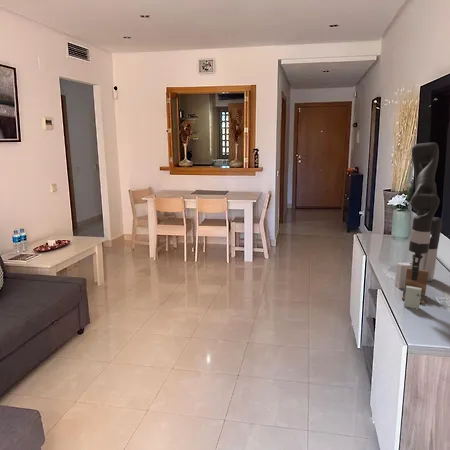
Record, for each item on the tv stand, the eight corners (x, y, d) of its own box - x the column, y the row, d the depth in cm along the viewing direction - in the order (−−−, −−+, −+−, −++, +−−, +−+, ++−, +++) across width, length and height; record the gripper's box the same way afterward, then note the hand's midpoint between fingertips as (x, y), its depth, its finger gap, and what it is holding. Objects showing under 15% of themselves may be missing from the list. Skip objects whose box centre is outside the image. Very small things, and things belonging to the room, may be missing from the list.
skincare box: (405, 285, 205) (408, 262, 202) (410, 288, 200) (413, 265, 198) (394, 285, 204) (396, 262, 201) (398, 288, 200) (401, 265, 197)
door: (404, 304, 181) (406, 285, 179) (419, 307, 178) (421, 288, 176) (403, 307, 178) (405, 287, 176) (418, 310, 175) (421, 290, 173)
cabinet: (404, 291, 197) (407, 267, 194) (425, 295, 192) (428, 270, 190) (401, 300, 186) (404, 274, 183) (423, 304, 182) (427, 278, 179)
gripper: (411, 236, 180) (406, 271, 183) (408, 242, 168) (403, 280, 171) (430, 238, 176) (425, 274, 180) (428, 245, 164) (423, 283, 167)
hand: (414, 277), depth 175 cm, fingers open, 8 cm apart
